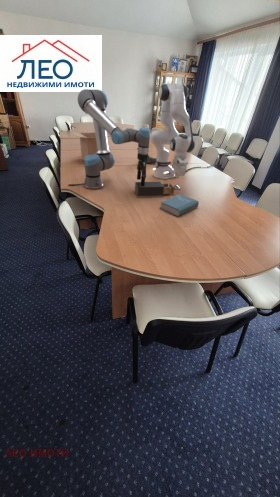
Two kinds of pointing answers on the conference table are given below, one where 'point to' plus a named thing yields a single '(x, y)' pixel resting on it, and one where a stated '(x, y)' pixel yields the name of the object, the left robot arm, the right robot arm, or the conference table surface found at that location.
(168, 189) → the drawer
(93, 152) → the box
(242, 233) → the conference table surface
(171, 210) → the book
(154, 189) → the dark boxy piece
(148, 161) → the laser sight
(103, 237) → the conference table surface
